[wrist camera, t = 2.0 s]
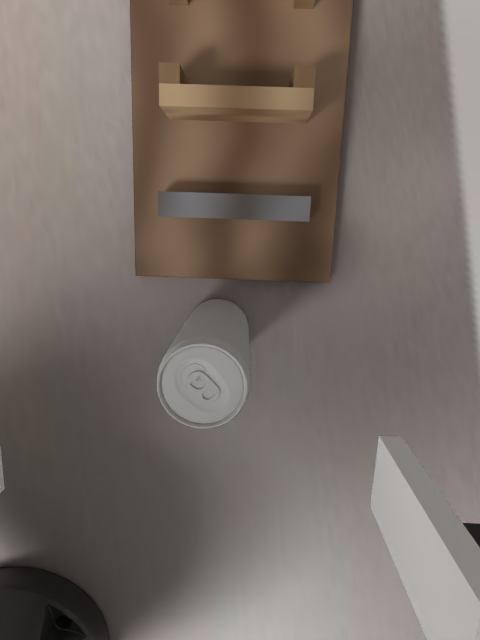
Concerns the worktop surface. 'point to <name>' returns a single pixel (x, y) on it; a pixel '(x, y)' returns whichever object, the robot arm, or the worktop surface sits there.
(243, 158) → the board
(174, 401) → the beverage can
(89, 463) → the worktop surface
